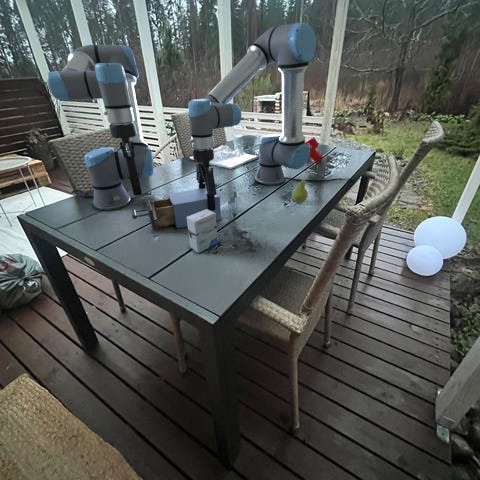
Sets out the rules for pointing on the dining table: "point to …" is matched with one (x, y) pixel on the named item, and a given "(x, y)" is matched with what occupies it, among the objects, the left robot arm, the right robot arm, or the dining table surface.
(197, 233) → the ink box
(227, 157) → the relief map
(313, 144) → the toy gun
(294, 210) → the dining table surface
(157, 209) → the drawer
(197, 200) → the cabinet
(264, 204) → the dining table surface
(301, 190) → the fruit
